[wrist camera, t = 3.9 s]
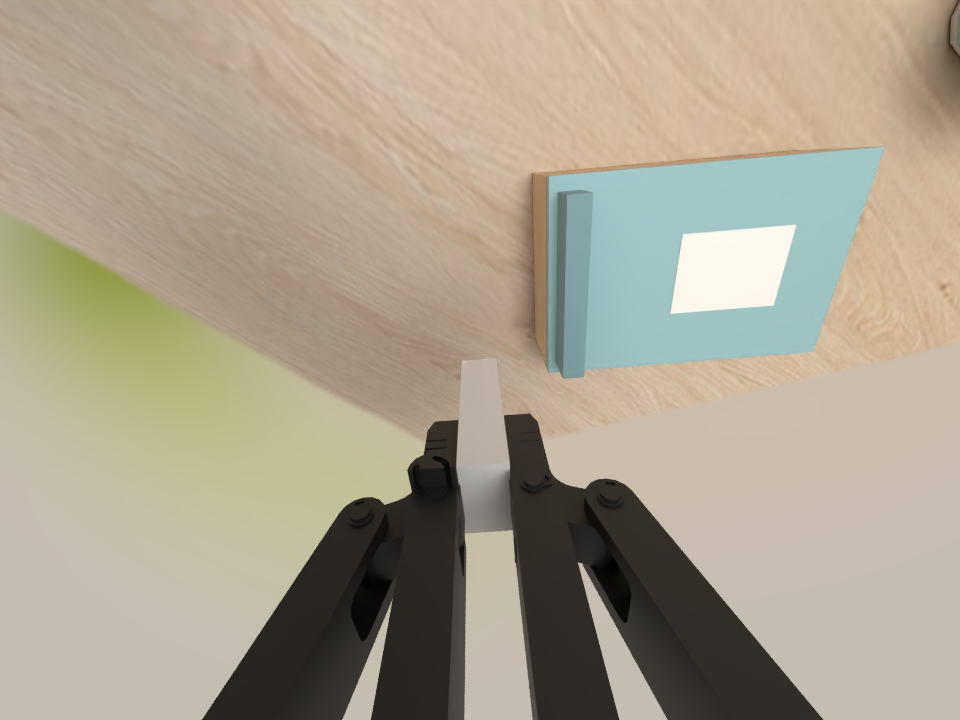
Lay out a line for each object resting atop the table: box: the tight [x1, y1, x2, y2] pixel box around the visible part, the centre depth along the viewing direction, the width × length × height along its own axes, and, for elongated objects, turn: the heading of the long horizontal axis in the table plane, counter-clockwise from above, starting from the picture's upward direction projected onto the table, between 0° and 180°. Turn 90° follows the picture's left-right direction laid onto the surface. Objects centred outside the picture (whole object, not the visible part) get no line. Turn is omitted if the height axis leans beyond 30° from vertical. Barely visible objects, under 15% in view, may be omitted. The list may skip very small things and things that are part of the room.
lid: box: [547, 147, 885, 379], centre depth 28 cm, size 22×15×4 cm
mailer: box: [532, 147, 870, 367], centre depth 33 cm, size 22×15×7 cm
